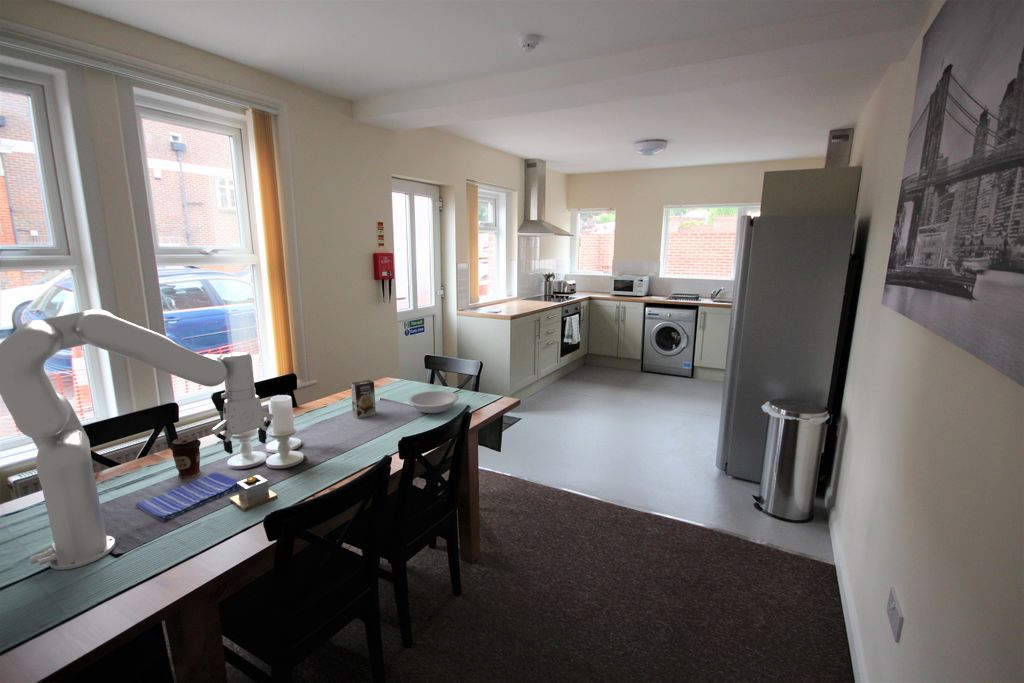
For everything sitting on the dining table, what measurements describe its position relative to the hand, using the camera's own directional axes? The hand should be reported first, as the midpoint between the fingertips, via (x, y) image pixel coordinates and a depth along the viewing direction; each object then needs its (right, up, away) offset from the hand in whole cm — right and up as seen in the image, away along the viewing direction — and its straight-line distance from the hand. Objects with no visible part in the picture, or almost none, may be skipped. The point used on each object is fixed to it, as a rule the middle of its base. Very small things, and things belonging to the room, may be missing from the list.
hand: (246, 447), depth 143 cm
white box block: (0, -16, +3) cm, 17 cm away
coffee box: (+12, -3, +78) cm, 79 cm away
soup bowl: (+44, -1, +83) cm, 94 cm away
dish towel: (-21, -18, +6) cm, 28 cm away
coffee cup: (-31, -14, +20) cm, 40 cm away
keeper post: (0, -17, +4) cm, 18 cm away
